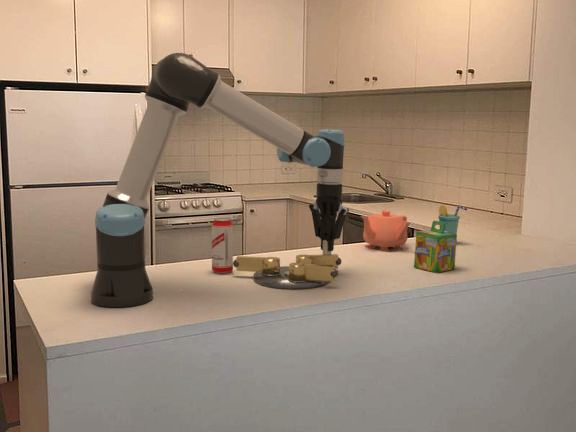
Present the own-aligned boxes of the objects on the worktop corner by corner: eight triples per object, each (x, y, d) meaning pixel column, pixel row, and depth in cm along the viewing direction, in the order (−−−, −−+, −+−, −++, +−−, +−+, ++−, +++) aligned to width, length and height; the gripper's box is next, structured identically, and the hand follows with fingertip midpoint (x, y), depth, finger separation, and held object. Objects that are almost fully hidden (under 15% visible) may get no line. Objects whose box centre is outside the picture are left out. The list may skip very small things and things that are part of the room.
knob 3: (287, 280, 175) (287, 265, 174) (291, 275, 180) (291, 261, 179) (336, 283, 172) (336, 268, 171) (339, 279, 177) (339, 264, 176)
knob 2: (297, 271, 184) (297, 257, 184) (294, 267, 189) (294, 254, 188) (343, 270, 187) (343, 256, 186) (339, 266, 192) (339, 252, 191)
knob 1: (281, 270, 185) (281, 256, 185) (278, 274, 181) (278, 260, 180) (235, 268, 187) (235, 254, 187) (231, 272, 182) (231, 258, 182)
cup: (471, 246, 232) (473, 205, 230) (457, 248, 228) (459, 207, 225) (442, 240, 244) (444, 201, 241) (428, 242, 239) (429, 202, 237)
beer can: (222, 268, 195) (222, 216, 192) (237, 271, 191) (237, 219, 188) (207, 272, 190) (207, 219, 187) (222, 275, 186) (222, 221, 183)
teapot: (408, 253, 219) (410, 214, 217) (359, 251, 222) (360, 213, 220) (406, 244, 235) (407, 208, 233) (360, 242, 237) (360, 207, 235)
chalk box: (413, 268, 198) (415, 221, 196) (432, 264, 204) (434, 218, 202) (437, 273, 191) (439, 225, 189) (456, 269, 197) (458, 222, 195)
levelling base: (278, 293, 168) (278, 284, 167) (239, 275, 186) (239, 267, 186) (345, 283, 179) (345, 274, 179) (303, 267, 198) (303, 259, 197)
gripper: (304, 181, 188) (301, 259, 191) (341, 185, 180) (337, 267, 184) (319, 180, 193) (316, 255, 197) (355, 183, 186) (351, 262, 189)
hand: (326, 261), depth 190 cm, fingers closed
